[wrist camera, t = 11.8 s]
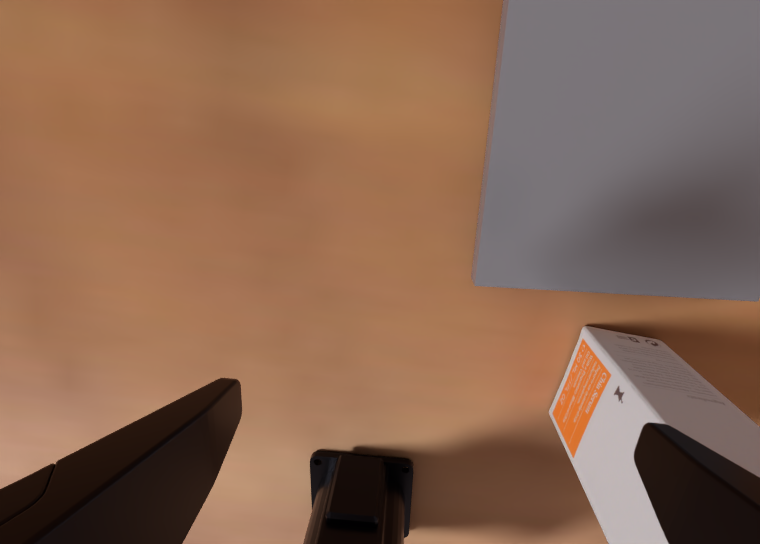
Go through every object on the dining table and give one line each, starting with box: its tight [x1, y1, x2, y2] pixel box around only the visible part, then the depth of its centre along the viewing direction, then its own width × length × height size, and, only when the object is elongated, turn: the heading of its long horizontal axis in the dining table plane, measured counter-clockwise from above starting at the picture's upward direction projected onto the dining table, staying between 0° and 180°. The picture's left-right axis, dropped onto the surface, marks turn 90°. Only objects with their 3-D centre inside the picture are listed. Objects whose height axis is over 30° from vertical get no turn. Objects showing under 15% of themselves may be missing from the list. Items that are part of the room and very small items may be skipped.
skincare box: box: [549, 326, 760, 544], centre depth 16 cm, size 6×4×12 cm
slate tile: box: [471, 0, 760, 301], centre depth 17 cm, size 13×13×1 cm
